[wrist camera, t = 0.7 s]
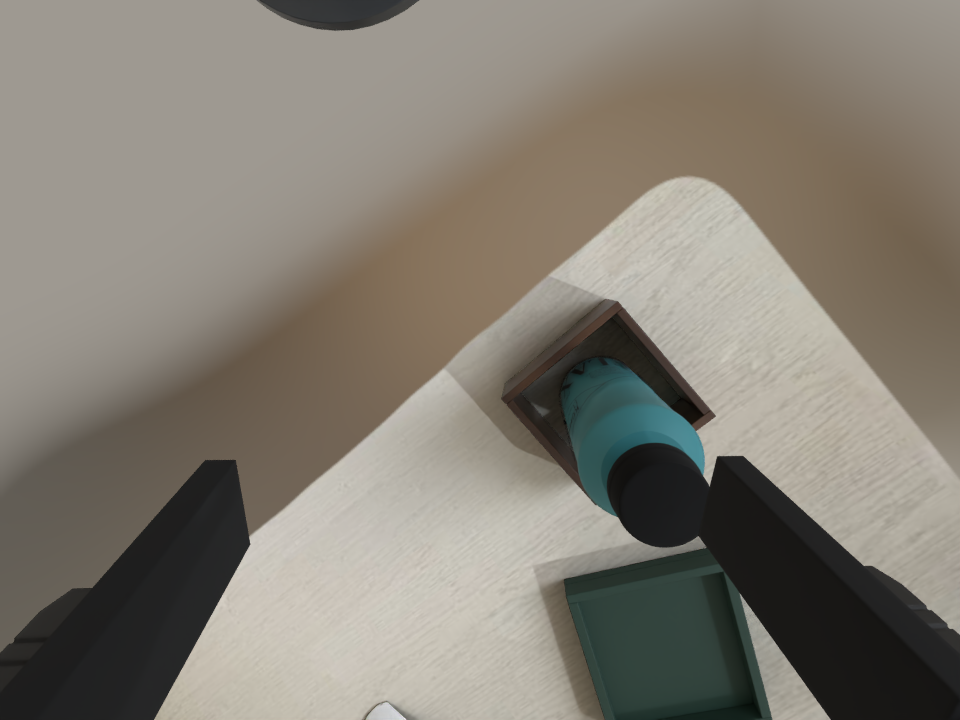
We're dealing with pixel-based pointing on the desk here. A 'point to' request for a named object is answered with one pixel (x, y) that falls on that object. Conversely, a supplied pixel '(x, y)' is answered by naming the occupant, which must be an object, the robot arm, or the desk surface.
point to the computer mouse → (384, 713)
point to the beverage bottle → (634, 453)
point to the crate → (687, 406)
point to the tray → (668, 641)
